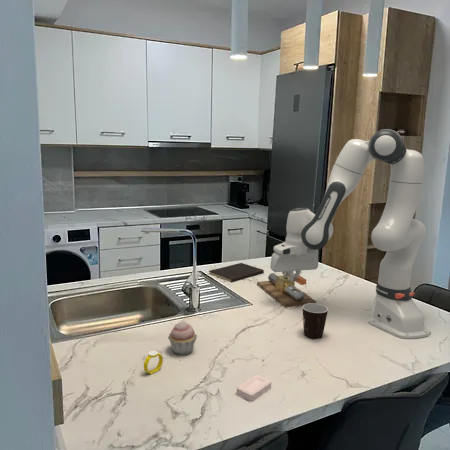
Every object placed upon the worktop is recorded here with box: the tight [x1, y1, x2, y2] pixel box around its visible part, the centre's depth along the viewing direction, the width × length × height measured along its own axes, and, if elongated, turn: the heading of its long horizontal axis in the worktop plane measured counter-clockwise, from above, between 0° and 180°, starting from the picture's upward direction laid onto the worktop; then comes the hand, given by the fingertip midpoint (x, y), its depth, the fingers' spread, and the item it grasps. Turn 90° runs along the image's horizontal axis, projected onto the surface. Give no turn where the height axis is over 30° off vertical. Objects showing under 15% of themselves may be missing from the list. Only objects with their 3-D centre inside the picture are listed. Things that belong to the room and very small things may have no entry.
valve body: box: [267, 272, 304, 302], centre depth 188 cm, size 26×6×8 cm, turn 19°
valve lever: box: [281, 271, 307, 286], centre depth 181 cm, size 17×3×2 cm, turn 20°
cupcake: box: [167, 320, 198, 356], centre depth 136 cm, size 9×9×10 cm
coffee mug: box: [302, 303, 329, 340], centre depth 148 cm, size 12×9×10 cm
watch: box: [143, 350, 164, 375], centre depth 124 cm, size 6×3×6 cm, turn 139°
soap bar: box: [236, 374, 272, 402], centre depth 116 cm, size 5×9×2 cm, turn 139°
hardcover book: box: [208, 262, 265, 283], centre depth 216 cm, size 16×23×2 cm
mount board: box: [256, 280, 317, 308], centre depth 189 cm, size 28×14×2 cm, turn 19°
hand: (293, 280), depth 176 cm, fingers closed
